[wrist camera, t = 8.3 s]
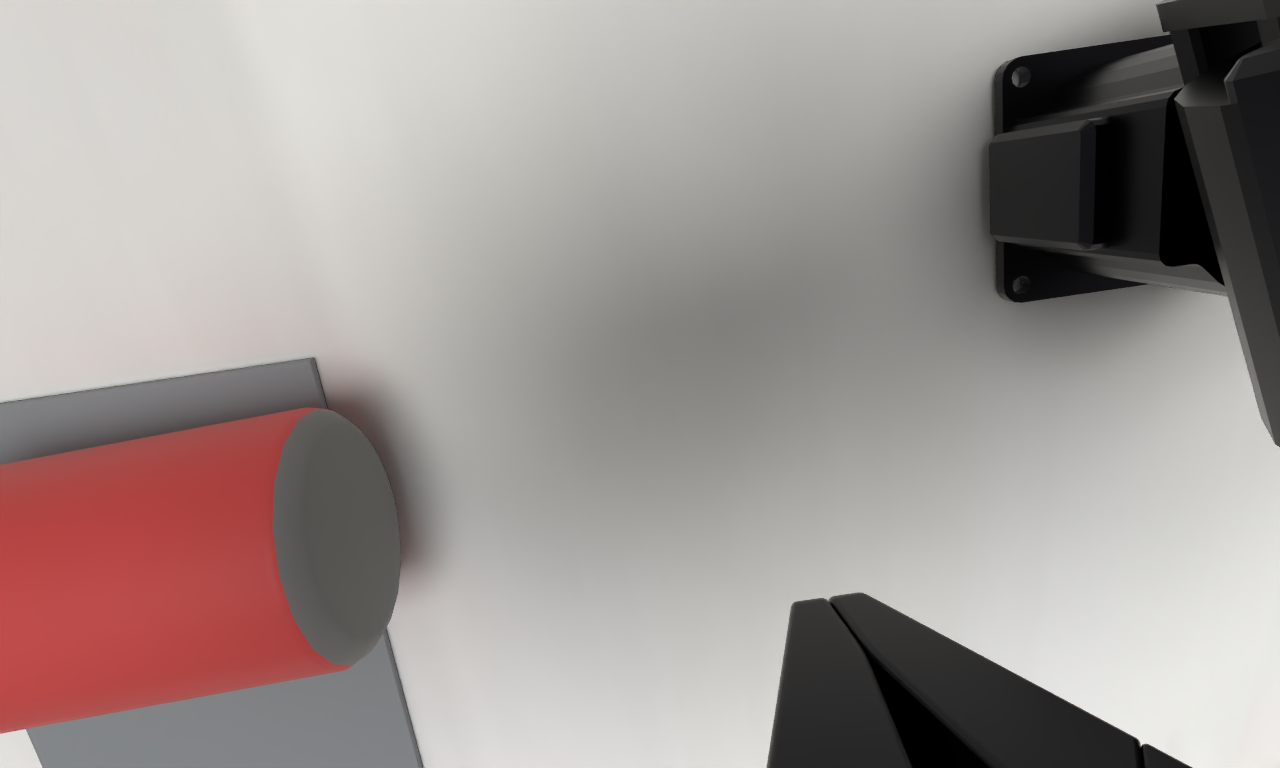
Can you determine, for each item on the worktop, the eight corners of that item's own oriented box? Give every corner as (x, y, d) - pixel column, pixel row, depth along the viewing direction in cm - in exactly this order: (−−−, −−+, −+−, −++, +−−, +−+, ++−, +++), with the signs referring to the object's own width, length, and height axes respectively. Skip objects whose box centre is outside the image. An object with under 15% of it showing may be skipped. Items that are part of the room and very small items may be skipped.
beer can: (300, 691, 14) (-287, 798, 14) (419, 647, 20) (14, 722, 21) (281, 373, 16) (-247, 473, 16) (398, 426, 22) (21, 496, 22)
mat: (313, 357, 20) (309, 360, 20) (432, 804, 24) (430, 811, 24) (-98, 417, 20) (-108, 420, 20) (89, 854, 25) (83, 861, 24)
